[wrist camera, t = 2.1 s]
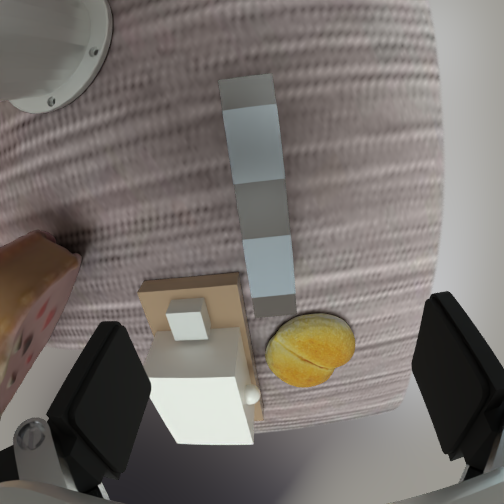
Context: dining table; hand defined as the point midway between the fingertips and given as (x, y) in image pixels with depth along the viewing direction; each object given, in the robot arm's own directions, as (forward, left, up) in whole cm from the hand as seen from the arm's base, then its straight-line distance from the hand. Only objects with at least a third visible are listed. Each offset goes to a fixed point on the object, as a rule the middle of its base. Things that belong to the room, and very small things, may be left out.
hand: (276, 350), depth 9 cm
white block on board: (+17, -8, -17) cm, 26 cm away
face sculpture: (+7, -24, -18) cm, 31 cm away
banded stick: (0, 0, -17) cm, 17 cm away
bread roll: (+17, +2, -18) cm, 25 cm away
